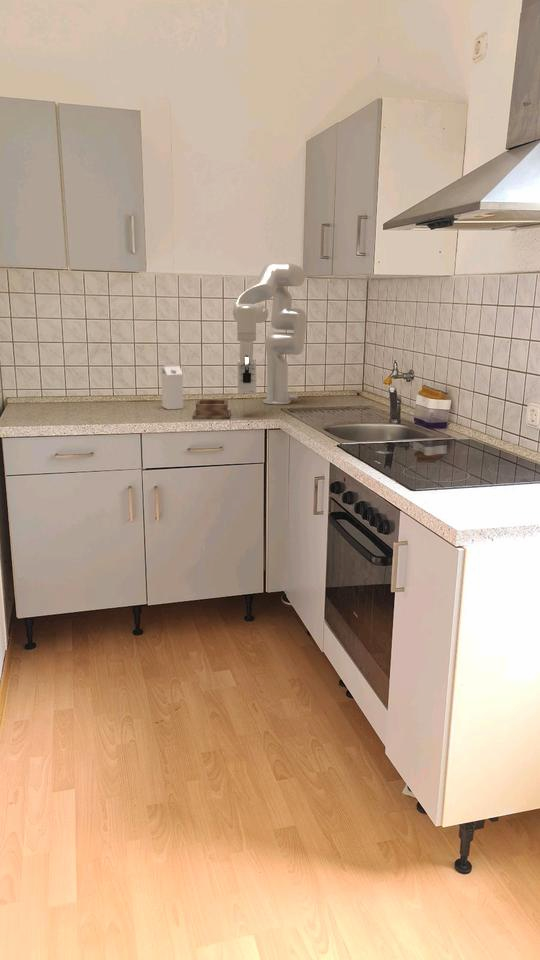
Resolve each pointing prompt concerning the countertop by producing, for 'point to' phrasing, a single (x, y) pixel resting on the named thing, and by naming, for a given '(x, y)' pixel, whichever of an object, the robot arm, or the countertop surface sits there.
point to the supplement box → (251, 386)
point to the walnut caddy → (212, 409)
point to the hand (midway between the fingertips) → (246, 380)
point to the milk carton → (172, 386)
